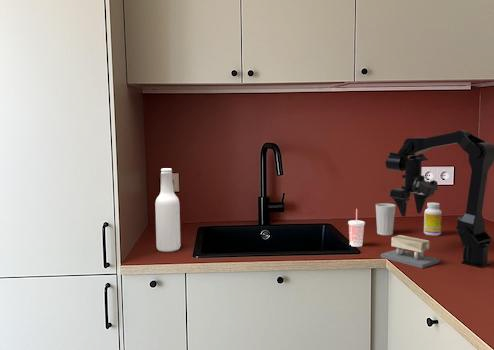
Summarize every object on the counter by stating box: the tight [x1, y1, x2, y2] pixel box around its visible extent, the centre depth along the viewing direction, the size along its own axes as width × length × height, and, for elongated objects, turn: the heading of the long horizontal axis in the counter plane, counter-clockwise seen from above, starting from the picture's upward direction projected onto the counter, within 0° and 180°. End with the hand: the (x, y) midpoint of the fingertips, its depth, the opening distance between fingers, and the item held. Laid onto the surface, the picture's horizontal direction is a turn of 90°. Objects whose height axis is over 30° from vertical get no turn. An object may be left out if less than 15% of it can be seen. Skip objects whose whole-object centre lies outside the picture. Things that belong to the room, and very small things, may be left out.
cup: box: [375, 202, 397, 236], centre depth 202 cm, size 8×8×12 cm
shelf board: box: [390, 234, 430, 253], centre depth 164 cm, size 5×11×3 cm, turn 41°
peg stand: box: [380, 247, 440, 269], centre depth 165 cm, size 16×10×4 cm, turn 37°
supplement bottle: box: [423, 202, 443, 237], centre depth 200 cm, size 7×7×13 cm
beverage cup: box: [347, 208, 366, 248], centre depth 184 cm, size 6×6×14 cm
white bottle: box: [154, 167, 182, 253], centre depth 180 cm, size 9×9×30 cm
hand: (411, 214), depth 179 cm, fingers open, 9 cm apart
